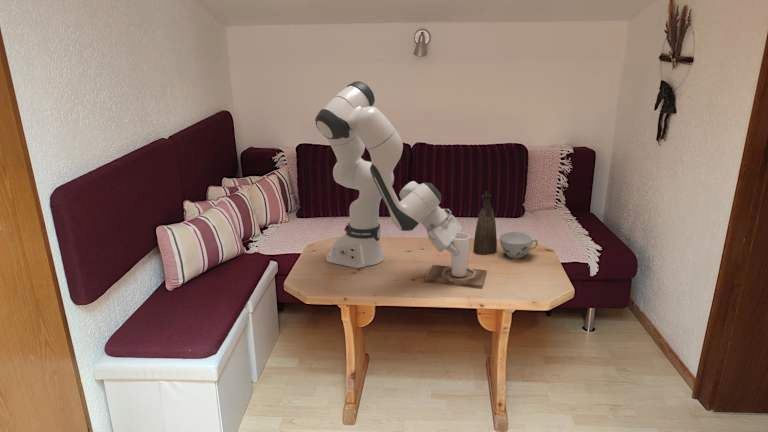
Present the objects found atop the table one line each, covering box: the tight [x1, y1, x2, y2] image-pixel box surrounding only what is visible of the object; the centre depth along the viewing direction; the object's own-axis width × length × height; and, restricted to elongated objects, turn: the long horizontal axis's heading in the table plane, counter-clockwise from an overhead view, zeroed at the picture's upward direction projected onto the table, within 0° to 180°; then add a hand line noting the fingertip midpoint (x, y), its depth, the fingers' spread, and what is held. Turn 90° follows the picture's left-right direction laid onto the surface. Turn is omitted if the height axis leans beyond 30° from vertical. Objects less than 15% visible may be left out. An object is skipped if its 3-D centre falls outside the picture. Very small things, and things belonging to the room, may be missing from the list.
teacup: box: [499, 231, 539, 260], centre depth 212 cm, size 15×12×8 cm
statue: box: [473, 190, 498, 255], centre depth 213 cm, size 9×8×25 cm
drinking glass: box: [450, 231, 471, 277], centre depth 192 cm, size 7×7×15 cm
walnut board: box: [424, 264, 487, 289], centre depth 195 cm, size 20×13×2 cm, turn 73°
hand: (461, 250), depth 191 cm, fingers closed on drinking glass, 6 cm apart
